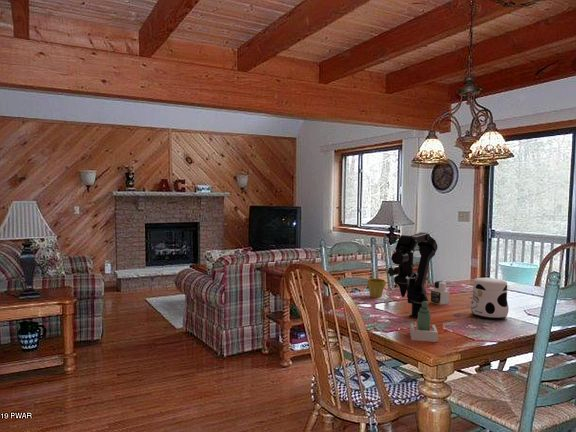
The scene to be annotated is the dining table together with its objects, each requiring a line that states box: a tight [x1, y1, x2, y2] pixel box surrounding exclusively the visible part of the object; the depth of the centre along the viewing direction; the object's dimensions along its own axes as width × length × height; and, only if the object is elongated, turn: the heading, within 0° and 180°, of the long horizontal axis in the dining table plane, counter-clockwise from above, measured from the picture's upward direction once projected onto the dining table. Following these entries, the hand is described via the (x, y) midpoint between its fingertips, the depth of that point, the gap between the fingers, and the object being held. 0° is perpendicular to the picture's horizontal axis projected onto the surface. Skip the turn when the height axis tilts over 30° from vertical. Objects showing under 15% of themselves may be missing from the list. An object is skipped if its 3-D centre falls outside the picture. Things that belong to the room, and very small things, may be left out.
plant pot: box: [366, 278, 386, 299], centre depth 262 cm, size 10×10×10 cm
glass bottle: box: [416, 301, 432, 331], centre depth 190 cm, size 5×5×14 cm
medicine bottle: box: [430, 280, 450, 306], centre depth 249 cm, size 7×7×12 cm
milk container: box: [470, 277, 510, 320], centre depth 223 cm, size 17×17×18 cm
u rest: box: [409, 322, 439, 343], centre depth 190 cm, size 10×10×4 cm
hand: (405, 295), depth 210 cm, fingers open, 9 cm apart
